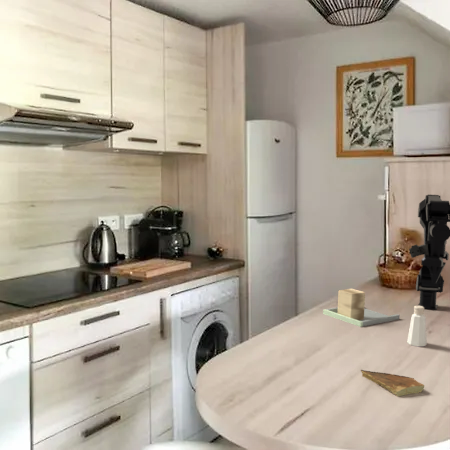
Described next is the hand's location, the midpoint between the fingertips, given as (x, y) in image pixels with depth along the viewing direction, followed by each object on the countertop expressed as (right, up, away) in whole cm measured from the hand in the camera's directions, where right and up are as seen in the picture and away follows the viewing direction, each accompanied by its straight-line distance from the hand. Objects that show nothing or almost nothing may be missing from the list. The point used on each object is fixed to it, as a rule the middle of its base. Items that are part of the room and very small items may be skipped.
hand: (434, 283), depth 181 cm
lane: (-25, -12, -3) cm, 28 cm away
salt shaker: (-15, -15, -27) cm, 34 cm away
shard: (-33, -18, -58) cm, 69 cm away
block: (-30, -11, -6) cm, 32 cm away
